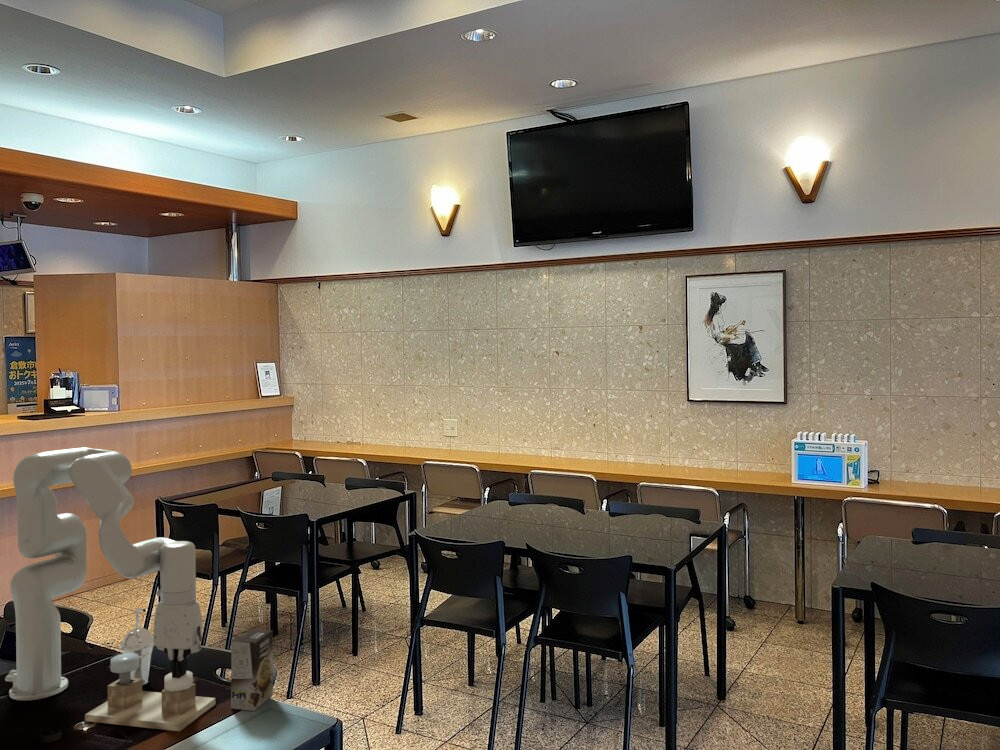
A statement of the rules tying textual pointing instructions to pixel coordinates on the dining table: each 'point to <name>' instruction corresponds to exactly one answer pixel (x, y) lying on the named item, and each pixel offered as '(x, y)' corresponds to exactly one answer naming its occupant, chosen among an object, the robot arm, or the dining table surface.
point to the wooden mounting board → (150, 707)
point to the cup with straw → (139, 648)
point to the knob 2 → (178, 682)
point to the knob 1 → (124, 666)
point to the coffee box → (251, 669)
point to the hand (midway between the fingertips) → (179, 675)
